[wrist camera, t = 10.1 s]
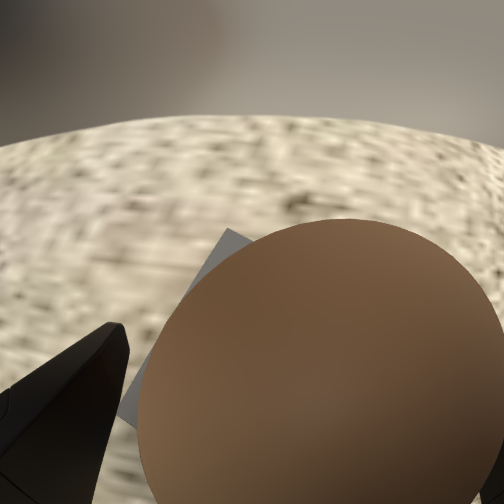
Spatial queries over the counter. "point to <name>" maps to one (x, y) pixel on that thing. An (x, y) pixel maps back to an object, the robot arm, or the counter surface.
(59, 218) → the counter surface
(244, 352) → the pepper mill
